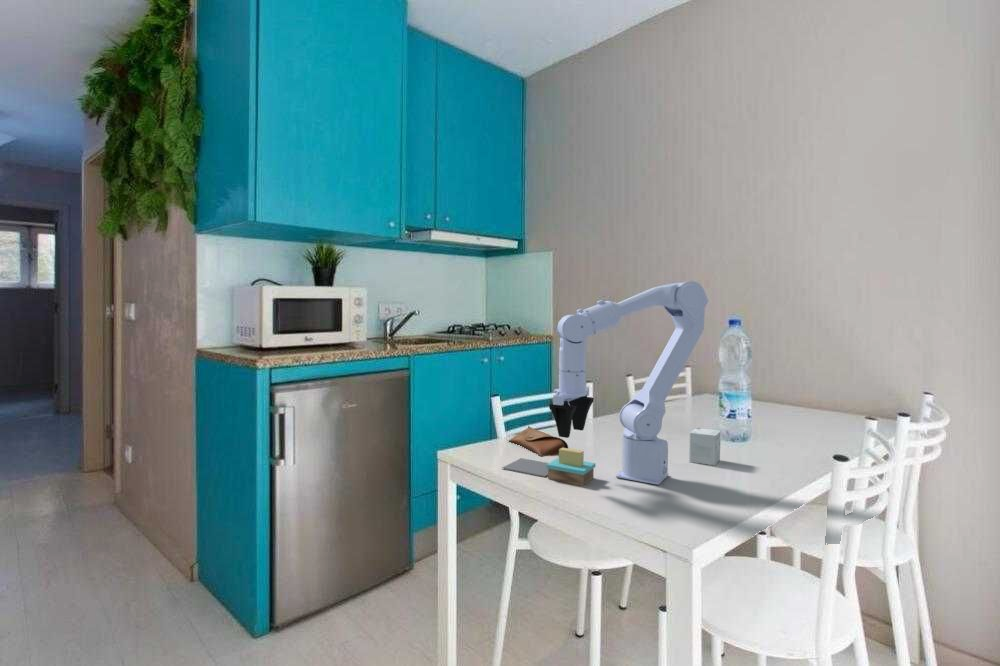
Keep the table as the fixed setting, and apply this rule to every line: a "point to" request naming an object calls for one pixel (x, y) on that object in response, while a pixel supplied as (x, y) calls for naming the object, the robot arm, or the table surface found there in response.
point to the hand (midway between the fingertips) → (571, 433)
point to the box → (570, 476)
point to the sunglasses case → (539, 442)
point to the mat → (528, 467)
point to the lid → (571, 462)
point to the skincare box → (704, 446)
